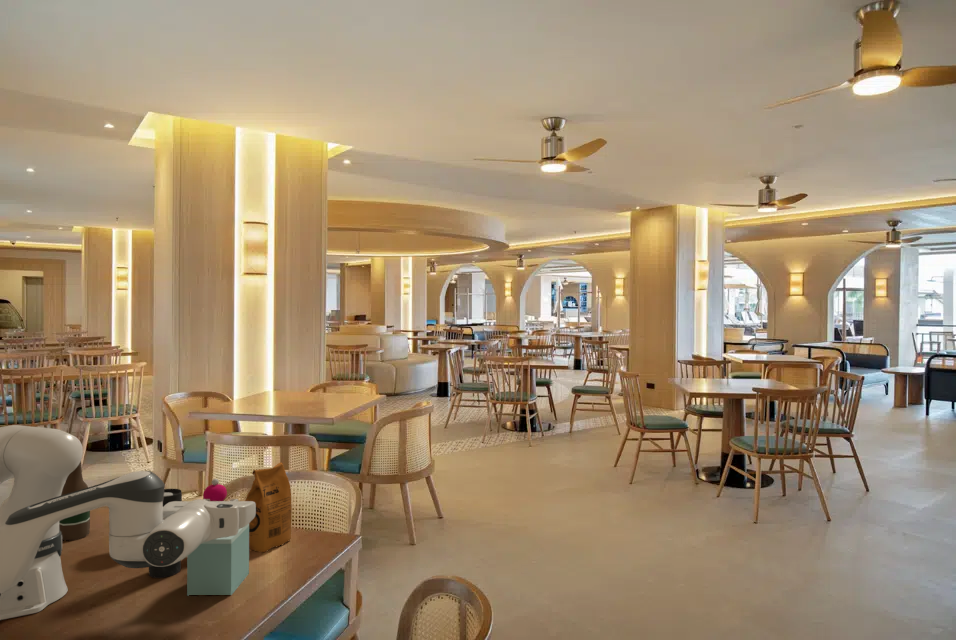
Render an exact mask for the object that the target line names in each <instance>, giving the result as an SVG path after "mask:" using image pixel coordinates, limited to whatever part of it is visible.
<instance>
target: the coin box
mask: <svg viewBox="0 0 956 640" xmlns="http://www.w3.org/2000/svg"><path fill="white" fill-rule="evenodd" d="M186 558H187V561H186V562H187V563H186V564H187V565H186V566H187V573H186V574H187V575H186V578H187V579H186V584H187V585H186V587H187V588H186V589H187V591H186V596H188V597H190V596H189V595H231V596H233V594H234V593H235V591H237V589H238V588H239V587H240V585H241V584H242V583H243V581H244V580H245V579H246V578H247V576H248V575H249V574H250V549H249V524H247V525H246V526H245V527H243V528H241V529H238V533H237V534H236V535H235V536H229V537H223V538H217V539H213V540H210V541H207V542H203V543H202V544H200V545H199V546H198V547H197V549H196V550H194V551H193V552H192V553H191V554H190V555H188V556H187V557H186Z"/></svg>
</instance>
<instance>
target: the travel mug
mask: <svg viewBox="0 0 956 640" xmlns="http://www.w3.org/2000/svg"><path fill="white" fill-rule="evenodd" d="M182 495H183V493H182V490H181V489H180V488H164V499H163V507H164V506H165V505H166V504H167V503H169V502H173V501H182V500H183V496H182ZM181 569H182V560H180V561H179V562H177V563H174V564H172V565H169V566H165V567H157V566H151V567H148V575H149V577H151V578H152V579H153V578H154V579H162V578H163V579H164V578H167V577H171V576H174V575H177V574H178V573H180V571H181Z"/></svg>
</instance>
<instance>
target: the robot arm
mask: <svg viewBox="0 0 956 640" xmlns="http://www.w3.org/2000/svg"><path fill="white" fill-rule="evenodd" d="M83 455H84V448H83V445H82V442H81V441H80V439H79V438H78V437H77V436H75V435H73V434H71V433H70V432H67V431H64V430H63V429H58V428H51V427H49V428H48V427H42V426H41V427H39V426H29V425H20V424H12V425H6V426H1V427H0V485H1V484H3V483H4V482H7V480H10V479H13V485H12V488H11V491H10V494H9V496H8V497H7V498H5V499H4V500H3V501H2V503H1V504H0V621H2V620H7V619H12V618H17V617H22V616H27V615H32V614H36V613H39V612H41V611H43V609H45V608H46V607H47V606H48V605H51V604H52V603H54V602H57V601H58V600H59V599H61V598H63V597H64V596H65V595H66V594H67V592H68V586H67V583H66V581H65V576H64V573H63V568H62V567H63V566H62V560H61V556H62V551H63V540H62V535H61V531H60V530H59V521H60V520H63V519H65V518H68V517H71V516H74V515H78V514H81V513H84V512H87V511H90V512H91V511H93V510H97V509H99V508H102V507H108V519H109V520H108V522H109V524H108V525H109V527H108V528H109V530H108V531H109V532H108V546H109V547H108V550H109V557H110V559H112V560H113V561H114V562H116V563H117V564H118V565H121V566H122V567H124V568H129V569H145V568H149V567H151V566H157V567H165V566H169V565H172V564H174V563H177V562H179V561H180V560H181V561H183V560H184V559H185V558H187V556H188V555H190V554H191V553H192V552H193V551H194V550H196V549H197V547H198V546H199V545H200V544H202V543H203V542H207V541H210V540H213V539H217V538H223V537H229V536H235V535H236V534H237V533H238V529H241V528H243V527H245V526H246V525H247V524H249V523H250V522H251V521H252V520H253V519H254V517H255V515H256V504H255V502H253V501H245V500H239V499H238V498H231V499H230V500H227V501H226V500H224V501H210V499H204V498H203V499H201V498H198V499H194V500H190V501H189V500H188V501H187V500H185V501H173V502H169V503H167V504H166V505H165V506H164V507H163V499H164V489H166V488H165V486H166V485H165V483H164V481H163V480H162V478H160V477H159V476H158V475H157V474H156V473H154V472H153V471H150V470H139V471H137V470H136V471H132V472H129V473H126V474H123V475H121V476H117V477H115V478H112V479H110V480H107V481H104V482H102V483H101V482H100V483H98V484H95V485H93V486H92V485H91V486H89V487H88V488H85V489H81V490H78V491H75V492H71V493H68V494H65V495H61V493H62V490H63V487H64V484H65V482H66V479H67V477H68V476H69V474H70V473H71V472H73V471H74V470H75V469H76V468H77V466H78V465H79V463H80V461H81V462H82V458H83Z"/></svg>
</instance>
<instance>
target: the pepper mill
mask: <svg viewBox="0 0 956 640" xmlns="http://www.w3.org/2000/svg"><path fill="white" fill-rule="evenodd" d="M227 496H228V491H227V488H226V486H224V484H223V485H222V484H220V483H219V479H217V478H213V479H212V480H211V484H210V485H208V486H206V487H205V489H204V490H203V493H202V498H203V499H210V501H225V500H226V498H227Z"/></svg>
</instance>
